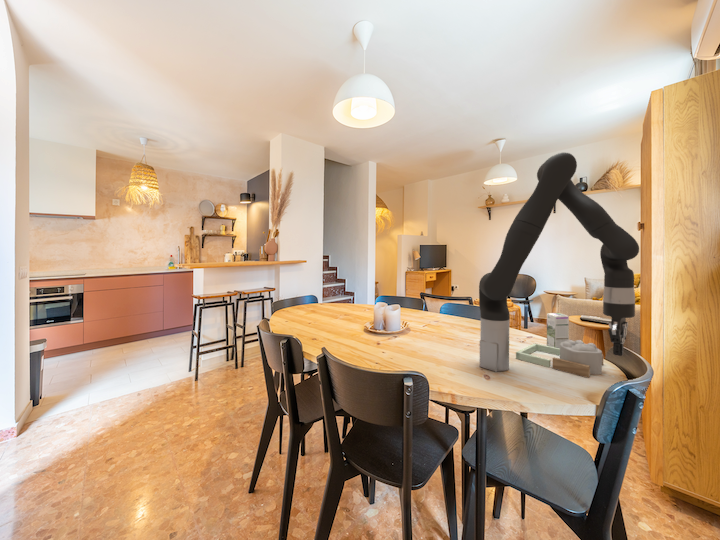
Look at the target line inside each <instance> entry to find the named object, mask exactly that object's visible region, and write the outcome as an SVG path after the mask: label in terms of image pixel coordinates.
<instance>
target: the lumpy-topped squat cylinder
mask: <svg viewBox="0 0 720 540" xmlns="http://www.w3.org/2000/svg"><path fill="white" fill-rule="evenodd" d="M602 354H603V351H602V350H601V349H599V348H598V347H597V345H596V344H595V343H593V342H588V343H585V342H583V341H582V340H581V339H576V340H572V339H569V340H567V341H565V342H562V343H561V344H560V356H559V359H563V360H567V361H572V362H576V363H580V364H584V365H589V366H590V375H595V376H596V375H602V373H603V371H602V369H603V368H602V367H603V365H602Z"/></svg>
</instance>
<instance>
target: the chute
mask: <svg viewBox="0 0 720 540" xmlns="http://www.w3.org/2000/svg"><path fill="white" fill-rule="evenodd" d="M551 361H552V362H551V365H552V367H551V368H552V369H553V368H554V370H557V369H558V370H557V371H562V372H565V373H569V374H573V375H576V376H580V377H584V378H589V377H590V375H591V374H590V366H589V365H584V364H580V363H576V362H572V361H567V360H563V359H560V357H559V358H558V357H552V359H551ZM603 365H604V354H603V353H602V366H603Z"/></svg>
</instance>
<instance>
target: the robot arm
mask: <svg viewBox="0 0 720 540" xmlns="http://www.w3.org/2000/svg"><path fill="white" fill-rule="evenodd" d="M577 167H578V163H577V159H576V158H575V156H574V155H573V154H572V153H570V152H558V153H556V154H554V155H552V156H550V157H549V158H548V159H546V160H545V161H544V162H542V164H541V165H540V166H539V168H538V170H537V173H536V178H537V180H538V182H537V185H536V186H535V189H534V190H533V192H532V194H531V195H530V197H529V198H528V199H527V201H526V202H525V203H524V205H523V206H522V207H521V208H520V210H519V211H518V213H517V214H516V215H515V218H514V219H513V221H512V223H511V225H510V227H509V229H508V231H507V233H506V236H505V238H504V242H503V247H502V250H501V253H500V254H501V255H500V257H499V259H498V260H497V262H496V264H495V266H494V267H493V269H492V271H490V272H488V273H486V274H484V275H482V276H481V278H480V280H479V285H478V296H479V297H478V299H479V300H478V303H479V311H480V334H479V335H480V336H479V337H480V339H479V367H481V368H483V369H486V370H490V371H493V372H495V373H497V372H504V371H508V370H509V369H510V309H509V306H508V297H509V296H510V294H511V293H512V292H513V289H514V286H515V284H516V282H517V279H518V277H519V274H520V271H521V269H522V267H523V265H524V263H525V262H526V260H527V258H528V257H529V255H530V254H531V252H532V250H533V249H534V246H535V245H536V243H537V242H538V240H539V237H540V236H541V233H543V230H544V228H545V226H546V224H547V222H548V220H549V218H550V216H551V214H552V212H553V210H554V208H555V205H556V203H557V201H560V202H561V203H562V204H563V205H564V206H565V207H566V208H567V210H569V211H570V213H572V215H573V216H574V217H575V218H576V219H577V221H578V222H579V223H580V225H581V226H582V227H583V228H584V230H585V231H586V232H587V233H588V234H589V236H590V237H592V238H594V239H596V240H598V241H600V242H601V243H602V244H601V247H600V255H599V256H600V260H601V265H602V269H603V274H604V276H603V277H604V278H603V279H604V281H603V283H604V284H603V293H602V295H603V296H602V298H603V299H602V304H603V305H602V314H603V315H604V316H606V317H610V318H611V320H610V321H608V327H609V328H608V335H609V339H610V342H611V343H612V344H613V345H612V348H613V349H612V352H613V355H615V356H619V357H621V356H623V355H624V344H625V341H626V340H627V334H628V333H627V332H628V327H629V322H628V321H627V320H626V319H631V318H635V316H636V294H635V273H634V271H633V269H631V268H629V266H628V261H630V260H633V259H635V258H636V257H637V256H638V255H639V253H640V246H639V243H638V241H636V239H635V238H634V237H633V235H631V234H630V233H629V232H627V231H626V230H624V228H623V227H621V226H619V225H618V224H617V223H616V222H615V221H614V219H613V218H612V216H610V215H609V212H607V210H605V208H603V206H602V205H601V204H599V203H598V202H596V201H595V200H594V199H593V198H591V197H590V196H588V195H586V193H583V192H582V191H581V190H580V189H579V188H578V187H577V186H576V185H575V183H574V182H573V181H572V178H573V177H574V176H575V174H576V172H577Z"/></svg>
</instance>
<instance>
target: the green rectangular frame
mask: <svg viewBox="0 0 720 540" xmlns="http://www.w3.org/2000/svg"><path fill="white" fill-rule="evenodd" d="M537 351H539V352H543V353H547V354H551V355H555V354H556V355H555V356H559V355H560V349H559V348H555V347H550V346H547V345H545V344H540V343H533V344H531V345H528V346H526V347H524V348H523V349H520V350H517V351H516V352H515V359H516V360H520V361H524V362H527V363H530V364H535V365H539V366H542V365H543V366H542V367H546V368H550V366H551V365H552V362H551V361H552V359H548V358H545V357H541V356H537V355H532V354H533V353H534V352H537Z"/></svg>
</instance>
